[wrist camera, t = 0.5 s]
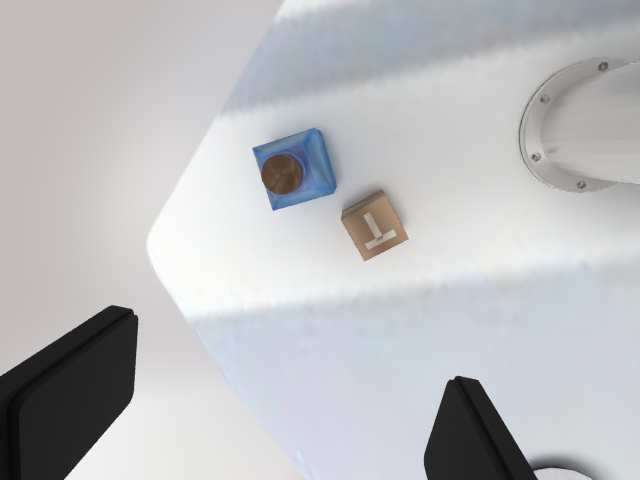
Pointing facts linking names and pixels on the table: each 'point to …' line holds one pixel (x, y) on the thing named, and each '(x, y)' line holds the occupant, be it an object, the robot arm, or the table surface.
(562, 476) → the white jar
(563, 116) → the robot arm
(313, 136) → the perfume bottle
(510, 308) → the table surface
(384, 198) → the letter cube
